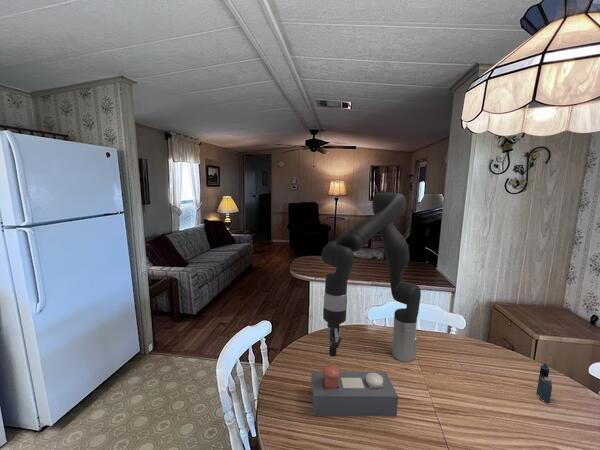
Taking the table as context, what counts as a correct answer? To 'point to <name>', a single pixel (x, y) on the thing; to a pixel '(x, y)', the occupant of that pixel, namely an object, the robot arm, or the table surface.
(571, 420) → the table surface
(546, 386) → the vaping device
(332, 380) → the red plunger
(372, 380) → the white plunger
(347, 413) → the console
